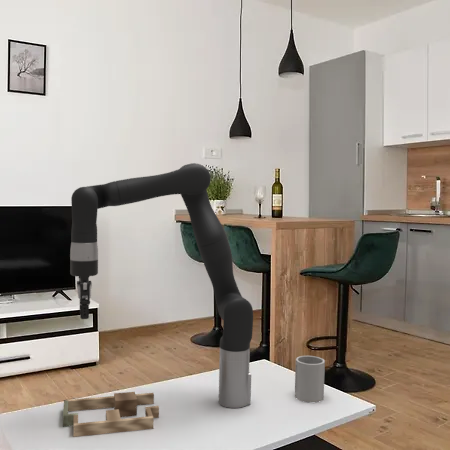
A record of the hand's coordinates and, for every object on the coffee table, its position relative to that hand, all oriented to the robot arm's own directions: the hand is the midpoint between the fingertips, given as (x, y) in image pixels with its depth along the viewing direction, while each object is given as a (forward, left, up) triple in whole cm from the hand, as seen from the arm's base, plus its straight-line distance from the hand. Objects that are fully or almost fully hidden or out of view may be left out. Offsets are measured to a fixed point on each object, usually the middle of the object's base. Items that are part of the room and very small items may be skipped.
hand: (84, 315), depth 148 cm
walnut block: (-12, 0, -29) cm, 32 cm away
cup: (-70, +1, -29) cm, 76 cm away
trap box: (-8, +3, -29) cm, 30 cm away
